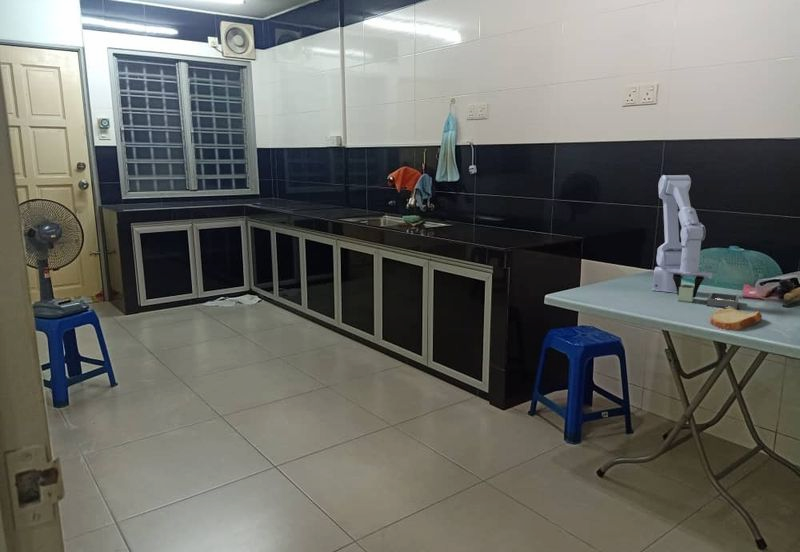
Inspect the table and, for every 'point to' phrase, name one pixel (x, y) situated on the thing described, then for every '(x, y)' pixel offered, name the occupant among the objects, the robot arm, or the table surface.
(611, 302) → the table surface
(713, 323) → the bread slice
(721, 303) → the grey rectangular tray
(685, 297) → the small crate
